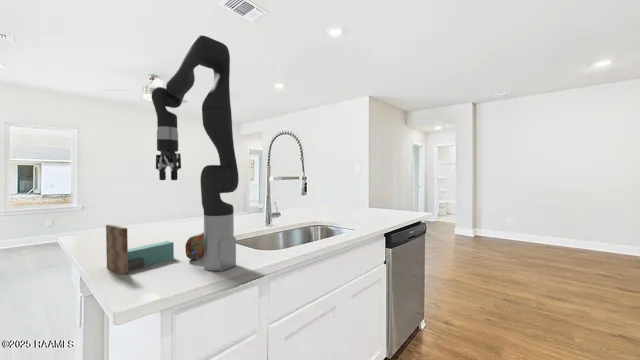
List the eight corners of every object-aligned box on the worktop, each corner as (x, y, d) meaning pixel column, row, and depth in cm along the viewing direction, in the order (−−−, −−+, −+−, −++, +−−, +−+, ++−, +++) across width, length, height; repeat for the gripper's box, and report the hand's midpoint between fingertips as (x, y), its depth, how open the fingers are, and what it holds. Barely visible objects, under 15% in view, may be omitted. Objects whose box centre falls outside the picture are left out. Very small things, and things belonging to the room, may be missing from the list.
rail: (173, 258, 103) (173, 242, 103) (124, 271, 90) (124, 252, 90) (167, 257, 105) (167, 241, 105) (118, 269, 92) (118, 250, 92)
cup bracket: (147, 268, 92) (146, 225, 92) (123, 274, 86) (122, 228, 86) (129, 262, 99) (128, 222, 98) (106, 267, 93) (106, 224, 93)
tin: (191, 262, 98) (191, 238, 98) (183, 262, 99) (183, 238, 99) (216, 251, 113) (215, 230, 113) (208, 250, 114) (208, 229, 113)
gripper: (186, 139, 112) (187, 180, 113) (167, 141, 120) (167, 179, 121) (167, 137, 106) (168, 180, 106) (148, 139, 114) (149, 180, 114)
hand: (168, 180), depth 114 cm, fingers open, 8 cm apart
